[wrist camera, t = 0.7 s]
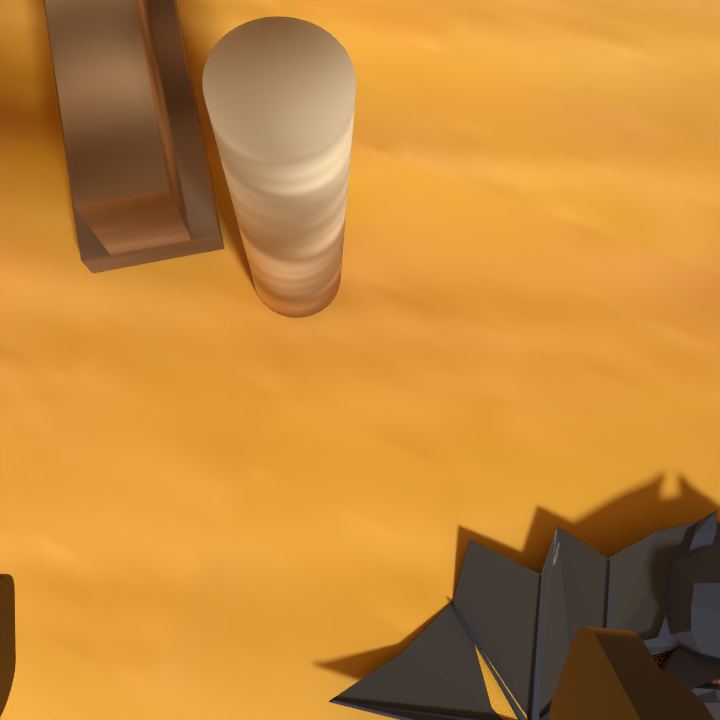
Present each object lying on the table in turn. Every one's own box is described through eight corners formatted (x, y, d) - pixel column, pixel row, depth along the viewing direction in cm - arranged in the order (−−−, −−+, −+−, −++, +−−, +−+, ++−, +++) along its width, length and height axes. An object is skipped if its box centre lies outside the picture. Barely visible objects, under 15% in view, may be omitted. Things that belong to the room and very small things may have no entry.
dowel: (330, 228, 32) (337, 6, 18) (348, 308, 31) (371, 135, 18) (245, 244, 32) (190, 28, 18) (262, 325, 31) (216, 162, 17)
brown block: (49, -18, 34) (-6, -130, 29) (168, -35, 35) (138, -147, 29) (92, 273, 31) (39, 213, 25) (224, 248, 31) (202, 184, 26)
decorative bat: (1130, 574, 26) (1140, 859, 24) (1022, 560, 30) (1024, 804, 29) (369, 453, 26) (325, 737, 24) (363, 455, 30) (325, 698, 28)
